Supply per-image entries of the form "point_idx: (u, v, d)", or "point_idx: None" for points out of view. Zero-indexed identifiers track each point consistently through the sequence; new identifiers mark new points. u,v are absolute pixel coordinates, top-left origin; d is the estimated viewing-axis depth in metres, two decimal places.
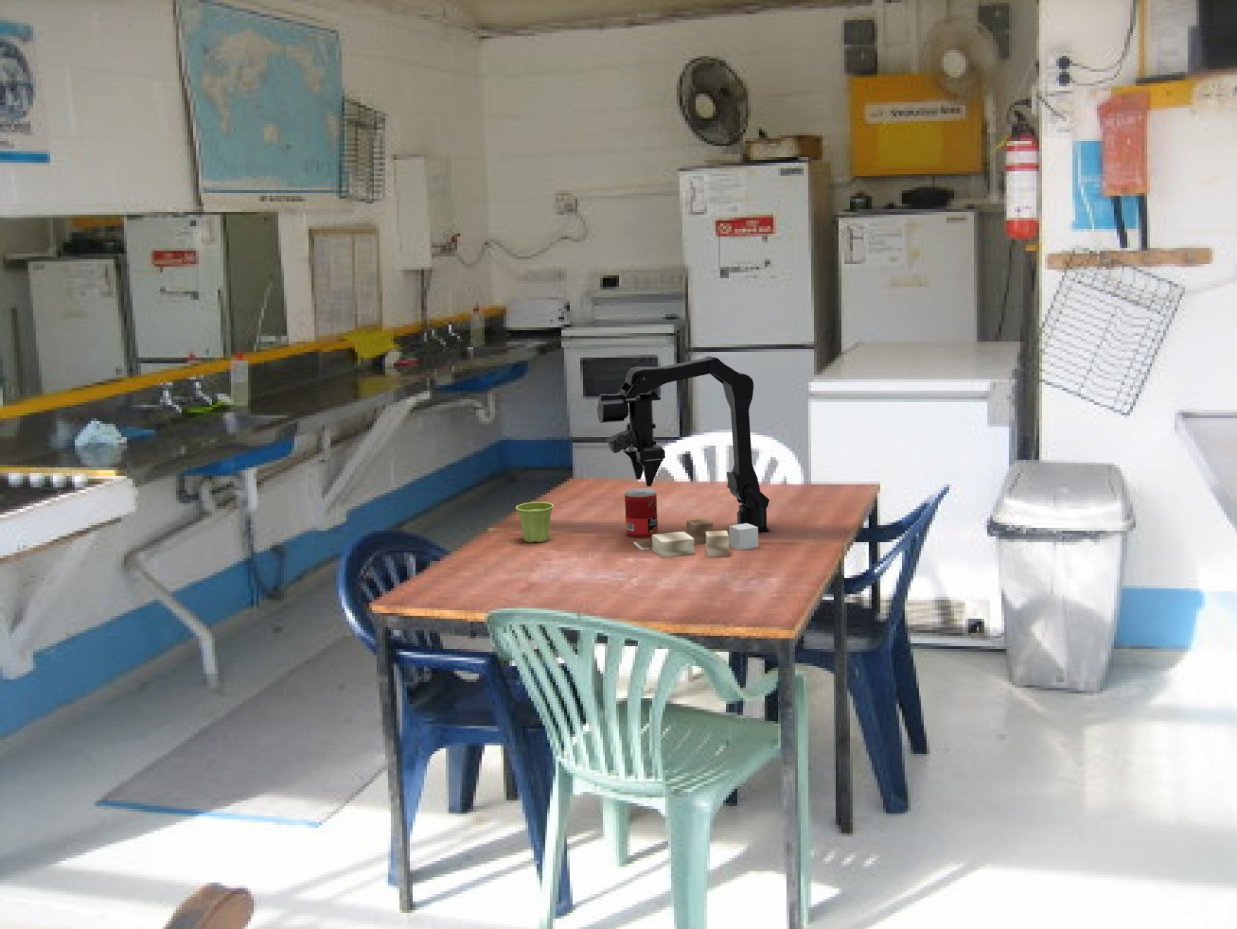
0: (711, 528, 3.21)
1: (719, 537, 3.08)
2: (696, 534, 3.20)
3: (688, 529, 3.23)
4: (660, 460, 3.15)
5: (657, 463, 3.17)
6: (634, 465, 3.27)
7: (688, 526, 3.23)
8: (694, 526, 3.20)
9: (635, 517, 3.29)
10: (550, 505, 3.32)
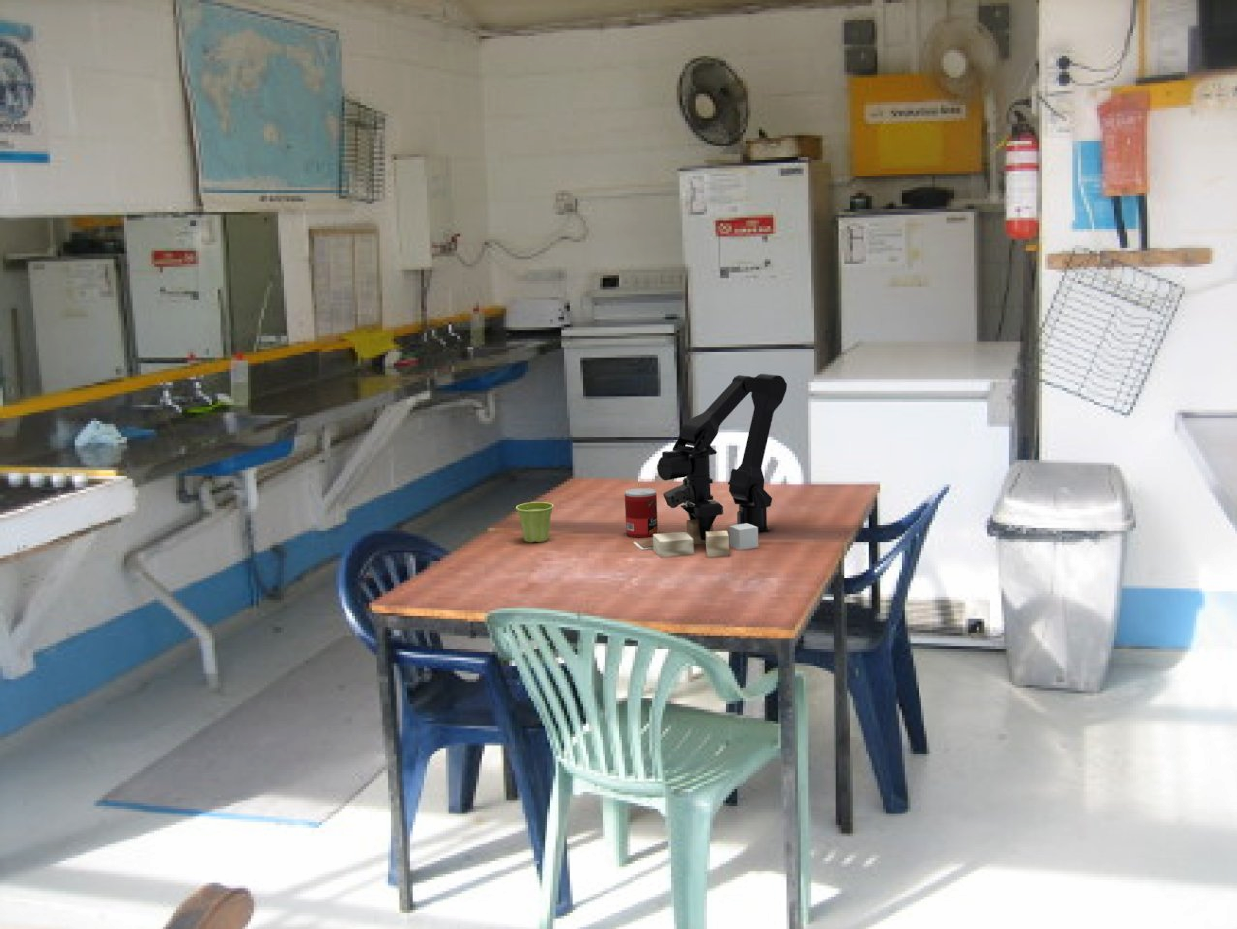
0: (711, 528, 3.21)
1: (719, 537, 3.08)
2: (696, 534, 3.20)
3: (688, 529, 3.23)
4: (715, 514, 3.17)
5: (712, 517, 3.18)
6: None
7: (688, 526, 3.23)
8: (694, 526, 3.20)
9: (635, 517, 3.29)
10: (550, 505, 3.32)
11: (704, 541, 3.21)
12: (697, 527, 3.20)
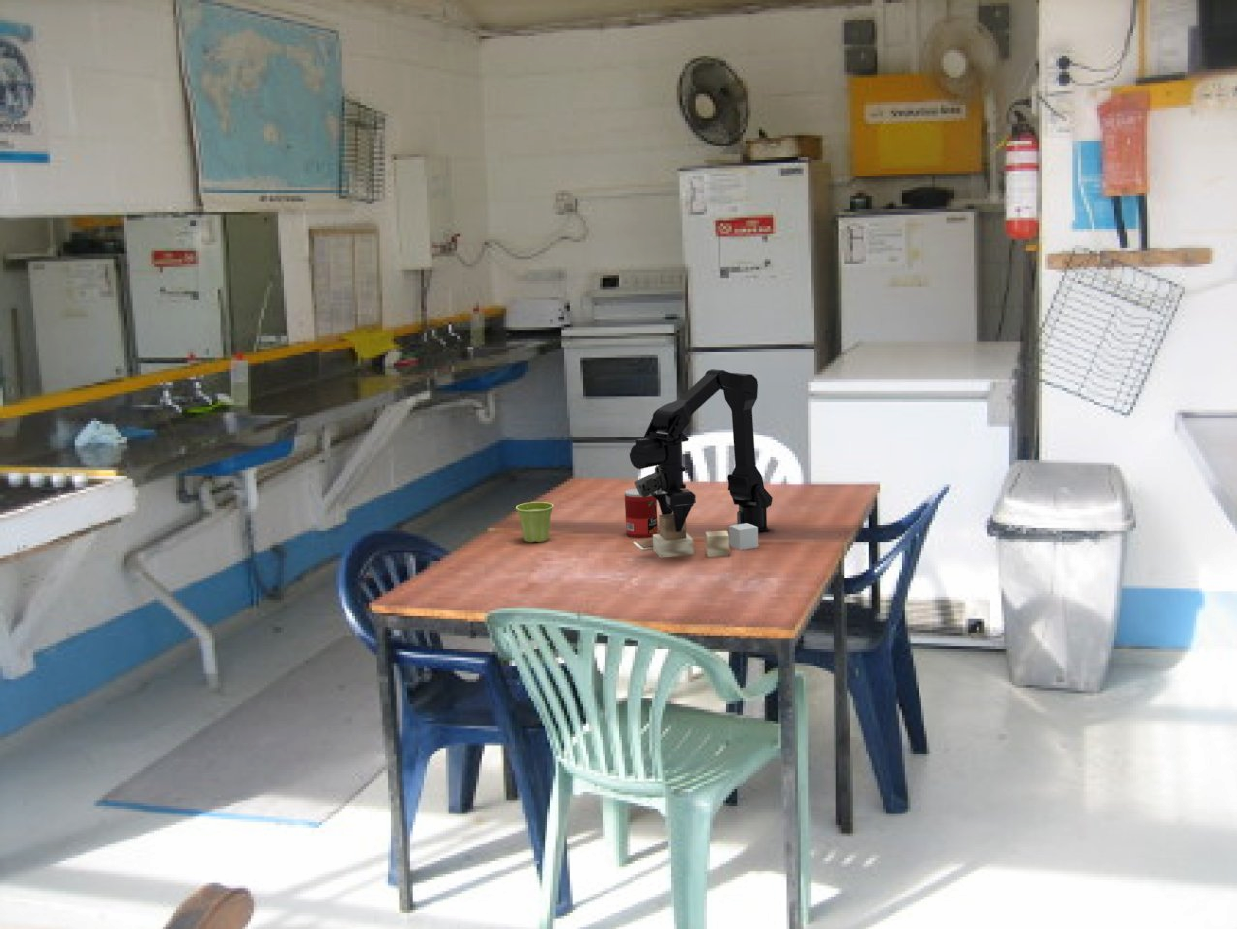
0: (684, 523, 3.11)
1: (719, 537, 3.08)
2: (668, 529, 3.11)
3: (661, 524, 3.14)
4: (690, 505, 3.05)
5: (687, 508, 3.07)
6: (662, 508, 3.17)
7: (661, 521, 3.14)
8: (666, 521, 3.10)
9: (635, 517, 3.29)
10: (550, 505, 3.32)
11: (677, 536, 3.11)
12: (670, 522, 3.10)
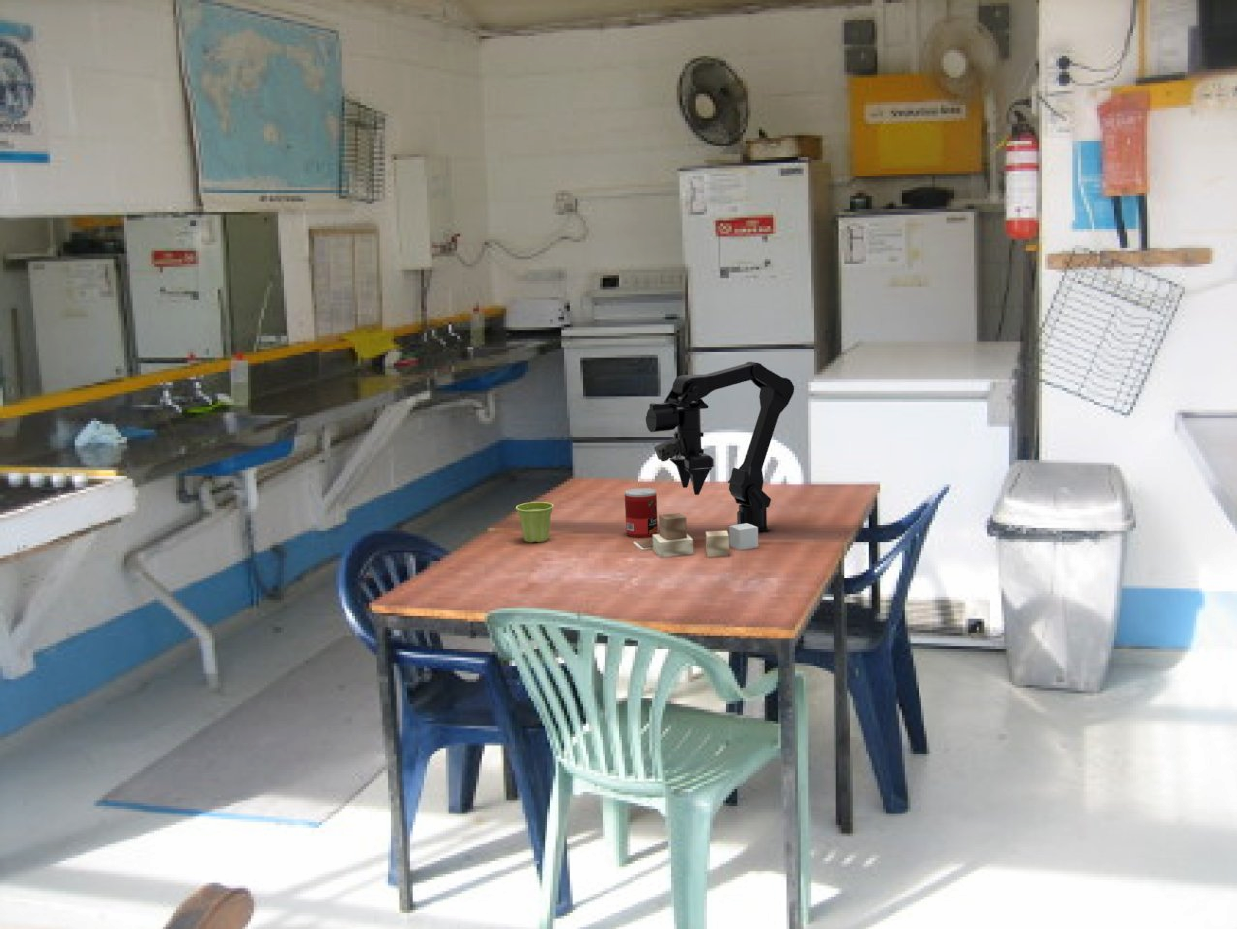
0: (685, 523, 3.12)
1: (719, 537, 3.08)
2: (669, 529, 3.11)
3: (661, 524, 3.14)
4: (708, 469, 3.16)
5: (705, 472, 3.17)
6: (681, 473, 3.27)
7: (661, 521, 3.14)
8: (667, 521, 3.10)
9: (635, 517, 3.29)
10: (550, 505, 3.32)
11: (678, 536, 3.12)
12: (670, 522, 3.11)
